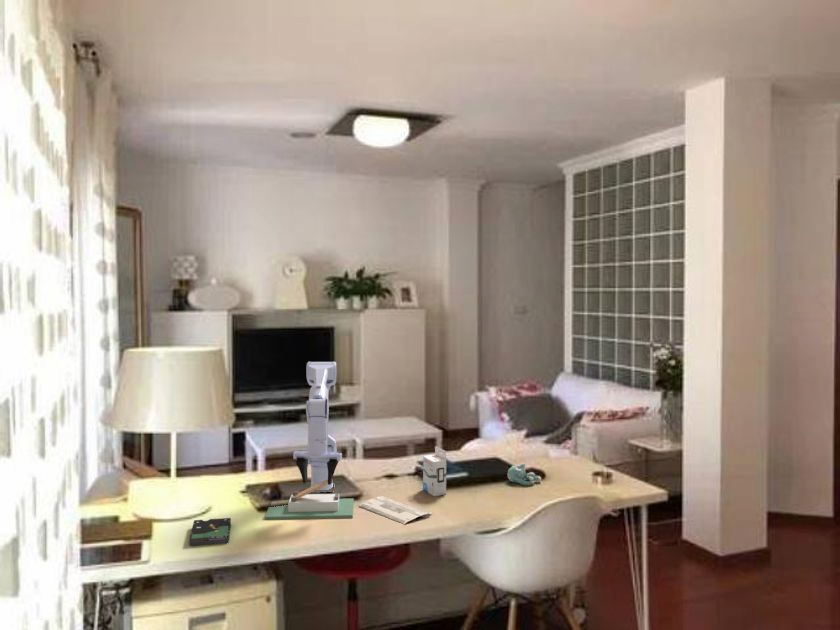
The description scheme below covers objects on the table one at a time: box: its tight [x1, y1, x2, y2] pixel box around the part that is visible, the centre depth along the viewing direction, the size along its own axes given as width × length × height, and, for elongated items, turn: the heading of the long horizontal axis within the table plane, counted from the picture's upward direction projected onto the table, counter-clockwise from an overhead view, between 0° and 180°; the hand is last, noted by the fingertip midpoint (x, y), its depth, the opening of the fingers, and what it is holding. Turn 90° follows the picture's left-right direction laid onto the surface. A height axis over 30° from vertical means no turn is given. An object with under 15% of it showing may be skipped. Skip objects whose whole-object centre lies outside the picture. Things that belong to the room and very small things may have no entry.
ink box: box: [422, 445, 447, 497], centre depth 231 cm, size 8×5×15 cm, turn 26°
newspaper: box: [358, 495, 432, 525], centre depth 213 cm, size 23×12×2 cm, turn 43°
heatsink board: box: [264, 491, 355, 520], centre depth 212 cm, size 16×26×5 cm, turn 94°
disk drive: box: [188, 517, 232, 547], centre depth 191 cm, size 10×3×15 cm
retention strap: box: [294, 479, 328, 499], centre depth 212 cm, size 4×12×1 cm, turn 94°
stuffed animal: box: [507, 463, 542, 486], centre depth 244 cm, size 11×7×12 cm
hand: (317, 483), depth 207 cm, fingers open, 7 cm apart
